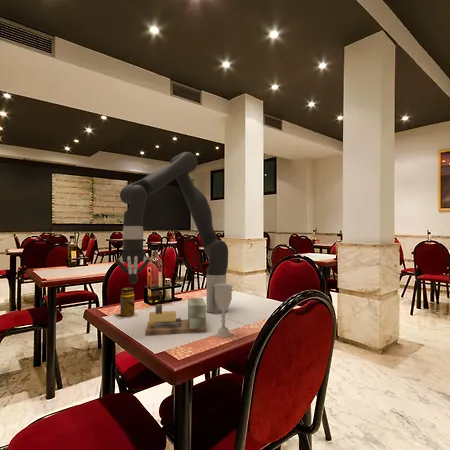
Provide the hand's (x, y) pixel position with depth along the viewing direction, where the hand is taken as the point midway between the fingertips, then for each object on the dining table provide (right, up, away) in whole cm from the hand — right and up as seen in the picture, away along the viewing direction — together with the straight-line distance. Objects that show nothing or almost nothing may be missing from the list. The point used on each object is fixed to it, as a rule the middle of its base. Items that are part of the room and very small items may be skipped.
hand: (133, 283), depth 116 cm
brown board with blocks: (+16, -18, +3) cm, 24 cm away
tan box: (+11, -16, +2) cm, 20 cm away
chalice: (+34, -18, -4) cm, 39 cm away
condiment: (-9, -18, +20) cm, 29 cm away
